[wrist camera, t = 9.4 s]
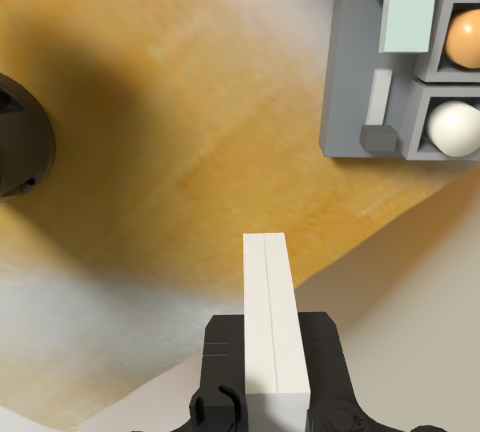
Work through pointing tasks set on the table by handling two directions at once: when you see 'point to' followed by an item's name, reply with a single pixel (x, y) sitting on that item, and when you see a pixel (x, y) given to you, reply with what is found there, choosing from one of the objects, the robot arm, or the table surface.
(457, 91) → the panel
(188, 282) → the table surface
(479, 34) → the button
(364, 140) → the slider
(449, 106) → the button
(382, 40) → the block
